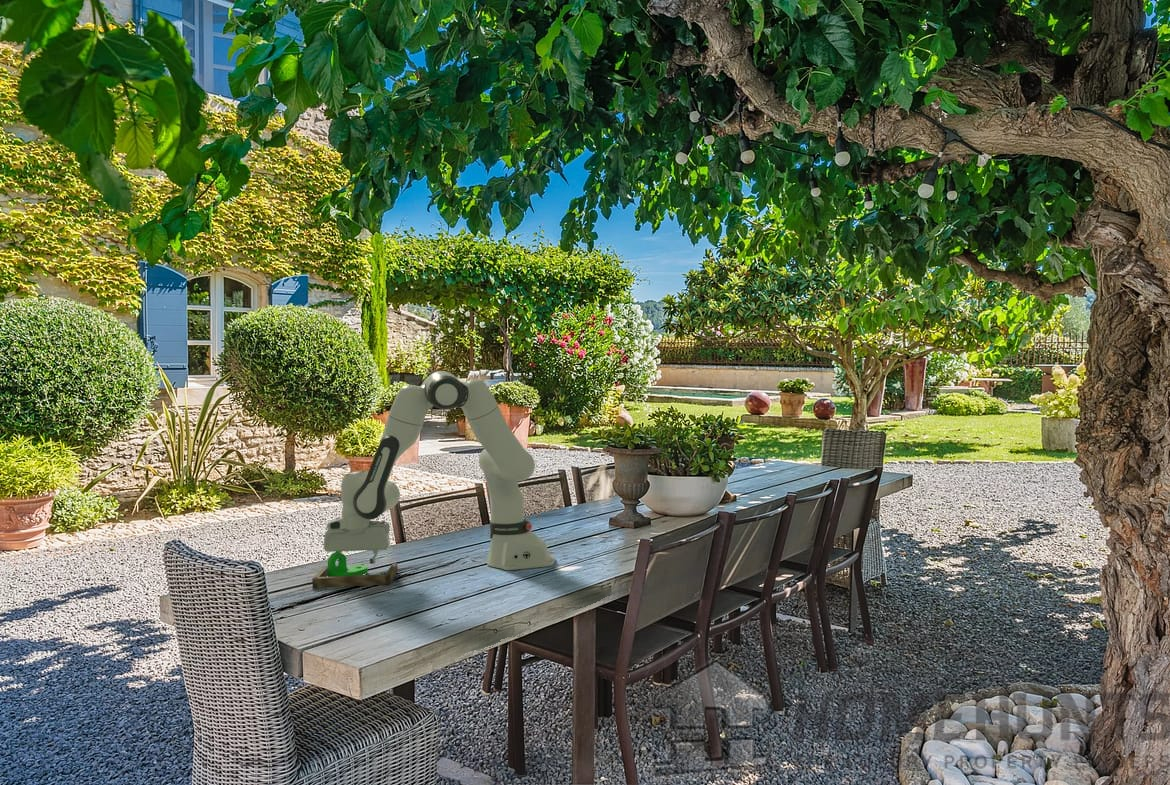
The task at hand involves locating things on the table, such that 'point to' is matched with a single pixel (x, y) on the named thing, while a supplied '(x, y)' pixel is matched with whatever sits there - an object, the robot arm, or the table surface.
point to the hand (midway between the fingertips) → (357, 564)
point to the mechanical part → (343, 567)
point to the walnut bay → (353, 579)
